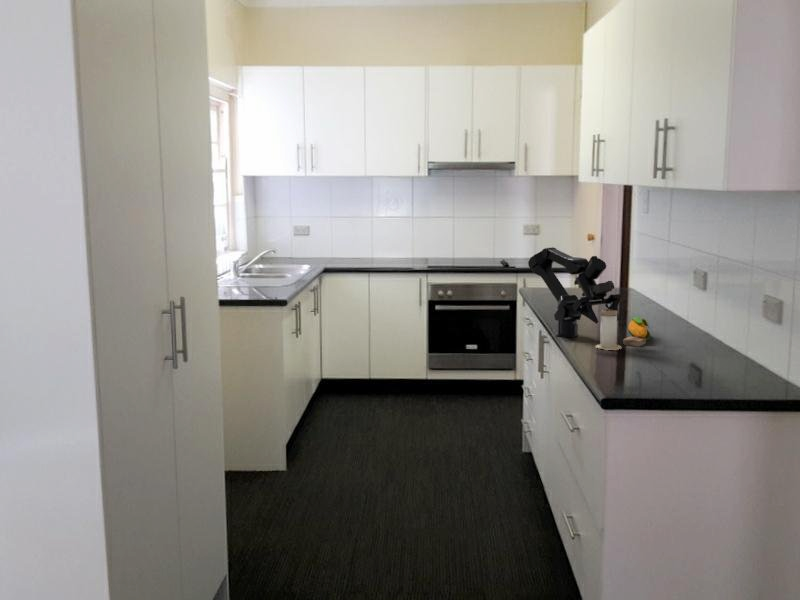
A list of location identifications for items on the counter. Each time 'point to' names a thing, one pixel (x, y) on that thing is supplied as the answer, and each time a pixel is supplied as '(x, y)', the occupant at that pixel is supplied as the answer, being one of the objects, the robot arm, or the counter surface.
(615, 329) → the jar
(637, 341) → the tile
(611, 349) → the coaster
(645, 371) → the counter surface
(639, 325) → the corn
